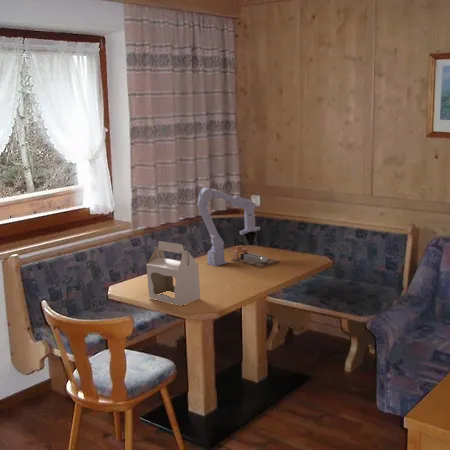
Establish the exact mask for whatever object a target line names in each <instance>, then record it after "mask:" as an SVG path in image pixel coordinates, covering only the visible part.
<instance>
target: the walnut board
mask: <svg viewBox="0 0 450 450" xmlns="http://www.w3.org/2000/svg"><path fill="white" fill-rule="evenodd" d="M231 261H233V262H235V263H236V262H237V263H240V264H244V265H248V266H252V267H255V268H259V269H263V268H266V267H269V266H272V265H277V264H279V263H280V260H277V259H272V258H268V257H267V264H258V263H254V262H250V261H246V260H242V259H241V255H240V256H239V259H235V258H234V257H232V258H231Z"/></svg>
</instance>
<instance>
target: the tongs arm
mask: <svg viewBox="0 0 450 450" xmlns="http://www.w3.org/2000/svg"><path fill="white" fill-rule="evenodd" d="M244 254H247V255H251V256H256V257H262V256H263V255H260V254H255V253H250V252H248V251H247V252H245V253H244Z"/></svg>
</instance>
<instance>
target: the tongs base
mask: <svg viewBox="0 0 450 450" xmlns="http://www.w3.org/2000/svg"><path fill="white" fill-rule="evenodd" d="M239 254H240V256H241V259H242V260H246V261H250V262H254V263H258V264H267V258H268V256H265V255H264V256H263V255H261V256H262V257H256V256H251V255H247V254H243V252H241V253H239Z"/></svg>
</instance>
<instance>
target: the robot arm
mask: <svg viewBox="0 0 450 450" xmlns="http://www.w3.org/2000/svg"><path fill="white" fill-rule="evenodd" d="M218 198H219V199H222V200H224V201H228V202H231V205H232V206H235V207H237V208H239V209H241V210H242V209H243V210H244V214H243V216H244V229H242V230H239V235H240V236H241V235H242V236H243V235H244V236H245V238H246V241H247V244H248V245H249V246H253V244H254V239H255V237H256V235H257V232H258V231H261V226H256V221H255V220H256V218H255V209H256V205H255V203H254V202H253V201H252V200H250V199H248V198H247V197H246V198H244V197H242V196H241V195H236V194H235V195H233V196H232V195H231V194H228V193H225V192H224V191H223V192H222V191H221V190H218V189H214V188H213V187H212V188H210V187H207V186H204V187H203V188H201V189H200V191H199V193H198V198H197V204H196V205H197V208H198V210H199V212H200V215H201V218H202V221H203V222H204V225H205V228H206V229H207V231H208V233H209V236H210V242H211V247H210V250H208V251H207V252H206V253H207V258H206V259H207V263H206V264H207V265H210V266H213V267H218V266H221V265H225V264H228V263H229V261H225V247H224V246H225V241H224V240H223V239H222V237H221V236H220V234H219V232H218V231H217V228H216V226H215V224H214V221H213V219H212V217H211V214H210V211H209V209H208V207H207V206H208V204H209V202H211V200H212V199H213V200H214V199H218Z"/></svg>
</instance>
